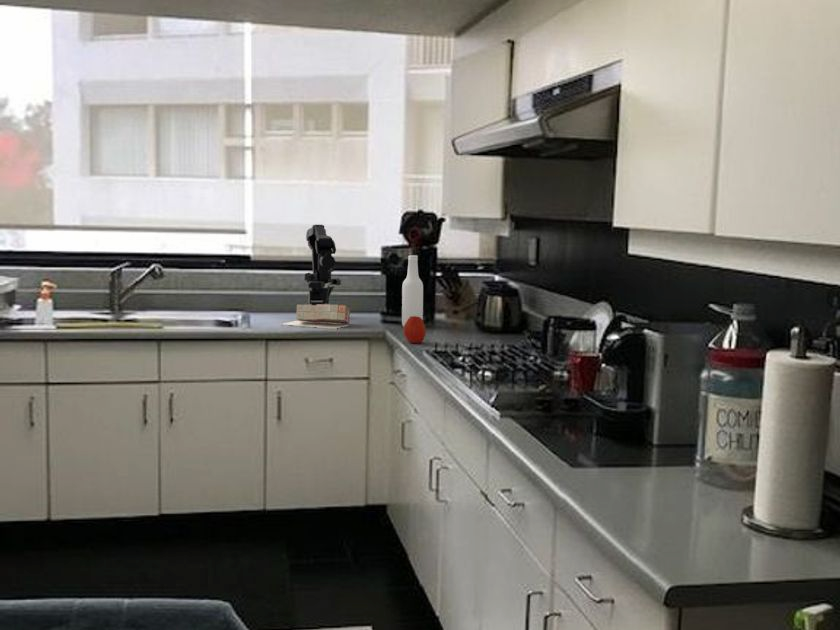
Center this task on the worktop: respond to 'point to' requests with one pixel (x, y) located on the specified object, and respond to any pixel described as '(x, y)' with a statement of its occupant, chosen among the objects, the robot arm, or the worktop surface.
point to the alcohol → (412, 292)
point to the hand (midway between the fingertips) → (324, 303)
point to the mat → (316, 324)
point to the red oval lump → (414, 329)
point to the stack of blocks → (323, 313)
